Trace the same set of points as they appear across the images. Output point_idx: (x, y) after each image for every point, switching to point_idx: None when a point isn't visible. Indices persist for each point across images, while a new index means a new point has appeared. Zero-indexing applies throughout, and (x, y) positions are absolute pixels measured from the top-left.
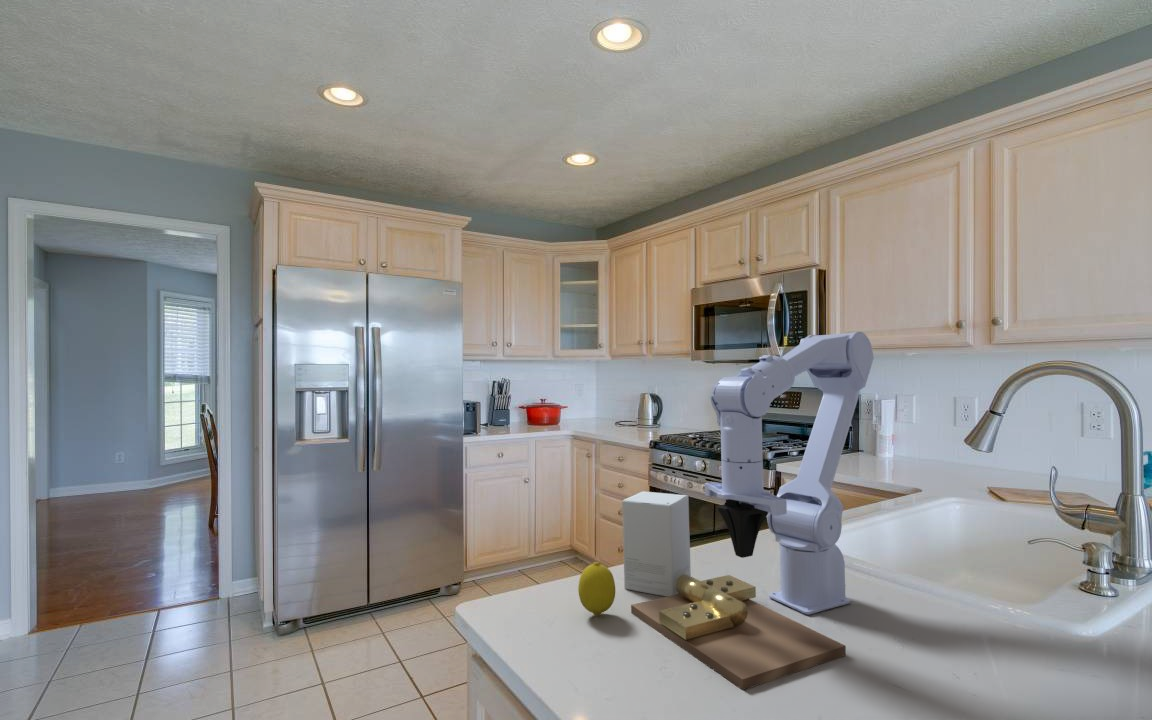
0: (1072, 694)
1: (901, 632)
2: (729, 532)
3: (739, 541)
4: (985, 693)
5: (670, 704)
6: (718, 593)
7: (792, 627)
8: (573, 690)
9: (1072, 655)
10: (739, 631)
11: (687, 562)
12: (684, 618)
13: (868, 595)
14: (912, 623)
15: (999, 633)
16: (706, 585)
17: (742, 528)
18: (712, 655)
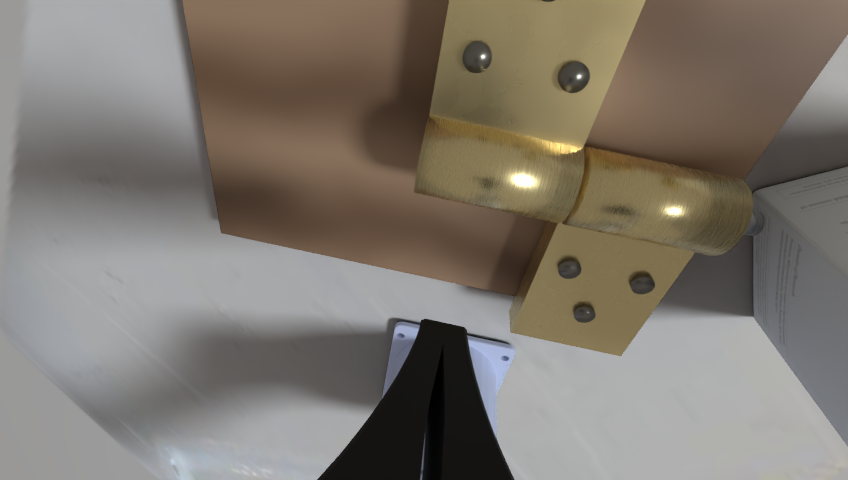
0: (39, 321)
1: (261, 353)
2: (484, 420)
3: (409, 375)
4: (56, 255)
5: None
6: (516, 182)
7: (342, 232)
8: None
9: (127, 404)
10: (406, 112)
11: (792, 350)
12: None
13: None
14: (277, 386)
15: (203, 414)
16: (597, 211)
17: (348, 446)
18: None
